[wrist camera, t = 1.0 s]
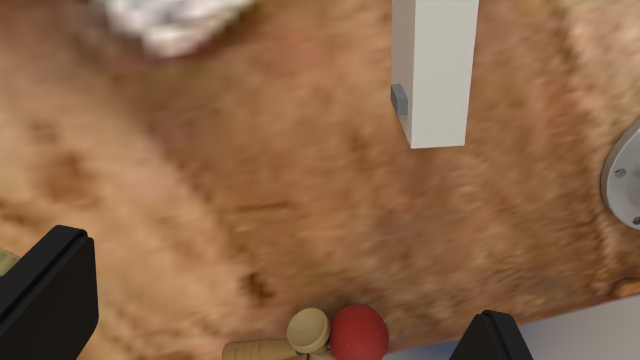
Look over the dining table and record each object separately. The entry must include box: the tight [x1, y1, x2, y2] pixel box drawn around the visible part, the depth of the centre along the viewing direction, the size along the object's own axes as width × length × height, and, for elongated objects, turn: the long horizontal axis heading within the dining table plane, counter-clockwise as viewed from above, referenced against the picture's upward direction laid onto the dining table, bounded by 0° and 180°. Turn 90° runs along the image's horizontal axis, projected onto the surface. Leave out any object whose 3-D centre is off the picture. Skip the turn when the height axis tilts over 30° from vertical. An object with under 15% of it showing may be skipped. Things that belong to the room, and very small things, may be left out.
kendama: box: [222, 304, 389, 360], centre depth 42 cm, size 8×6×18 cm
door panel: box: [391, 0, 479, 149], centre depth 24 cm, size 4×14×9 cm, turn 5°
